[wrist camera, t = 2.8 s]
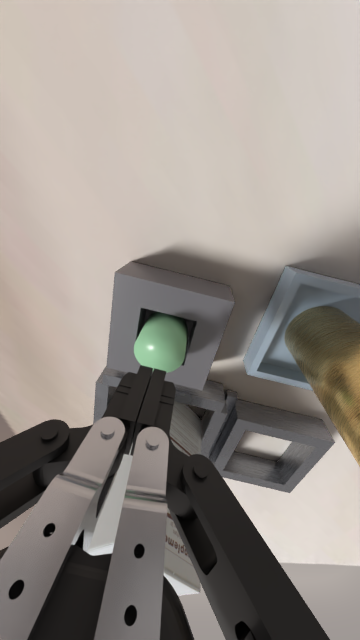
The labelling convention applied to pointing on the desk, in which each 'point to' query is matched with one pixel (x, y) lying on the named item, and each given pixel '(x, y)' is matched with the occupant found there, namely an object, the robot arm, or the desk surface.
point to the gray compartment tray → (241, 433)
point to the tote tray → (286, 303)
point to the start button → (162, 342)
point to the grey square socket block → (174, 299)
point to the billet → (330, 365)
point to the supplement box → (176, 557)
